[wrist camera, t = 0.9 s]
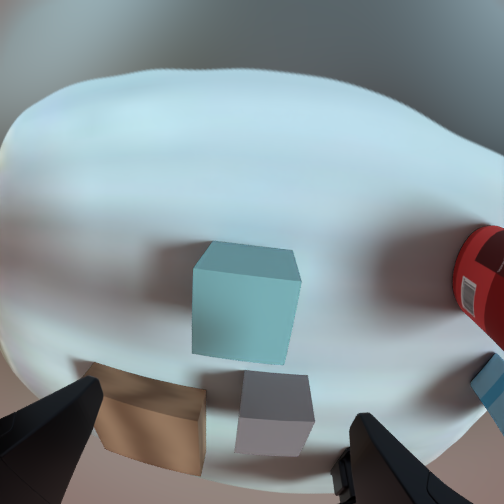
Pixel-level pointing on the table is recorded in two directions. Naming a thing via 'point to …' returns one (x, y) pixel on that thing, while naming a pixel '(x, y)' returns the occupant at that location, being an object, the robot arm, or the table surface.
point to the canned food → (482, 280)
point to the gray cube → (274, 414)
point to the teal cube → (244, 302)
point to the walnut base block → (151, 420)
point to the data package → (492, 389)
